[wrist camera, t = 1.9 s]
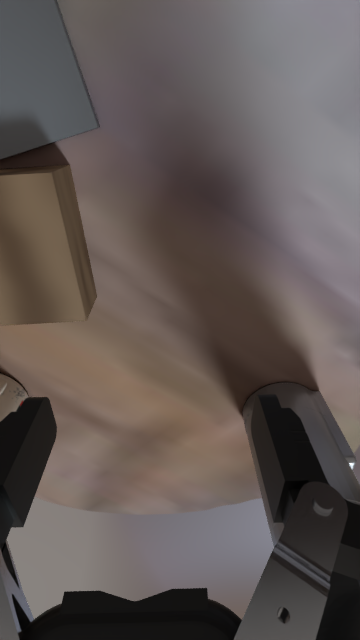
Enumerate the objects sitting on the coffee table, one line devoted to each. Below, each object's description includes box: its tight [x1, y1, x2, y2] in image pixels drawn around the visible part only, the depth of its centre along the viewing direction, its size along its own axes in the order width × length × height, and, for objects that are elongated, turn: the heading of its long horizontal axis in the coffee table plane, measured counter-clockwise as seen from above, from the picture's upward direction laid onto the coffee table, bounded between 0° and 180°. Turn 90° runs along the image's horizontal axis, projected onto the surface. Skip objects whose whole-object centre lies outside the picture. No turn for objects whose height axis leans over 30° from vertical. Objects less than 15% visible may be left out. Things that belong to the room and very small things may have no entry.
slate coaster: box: [0, 0, 100, 160], centre depth 23 cm, size 9×9×1 cm
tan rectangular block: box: [0, 165, 97, 326], centre depth 28 cm, size 8×12×5 cm, turn 3°
